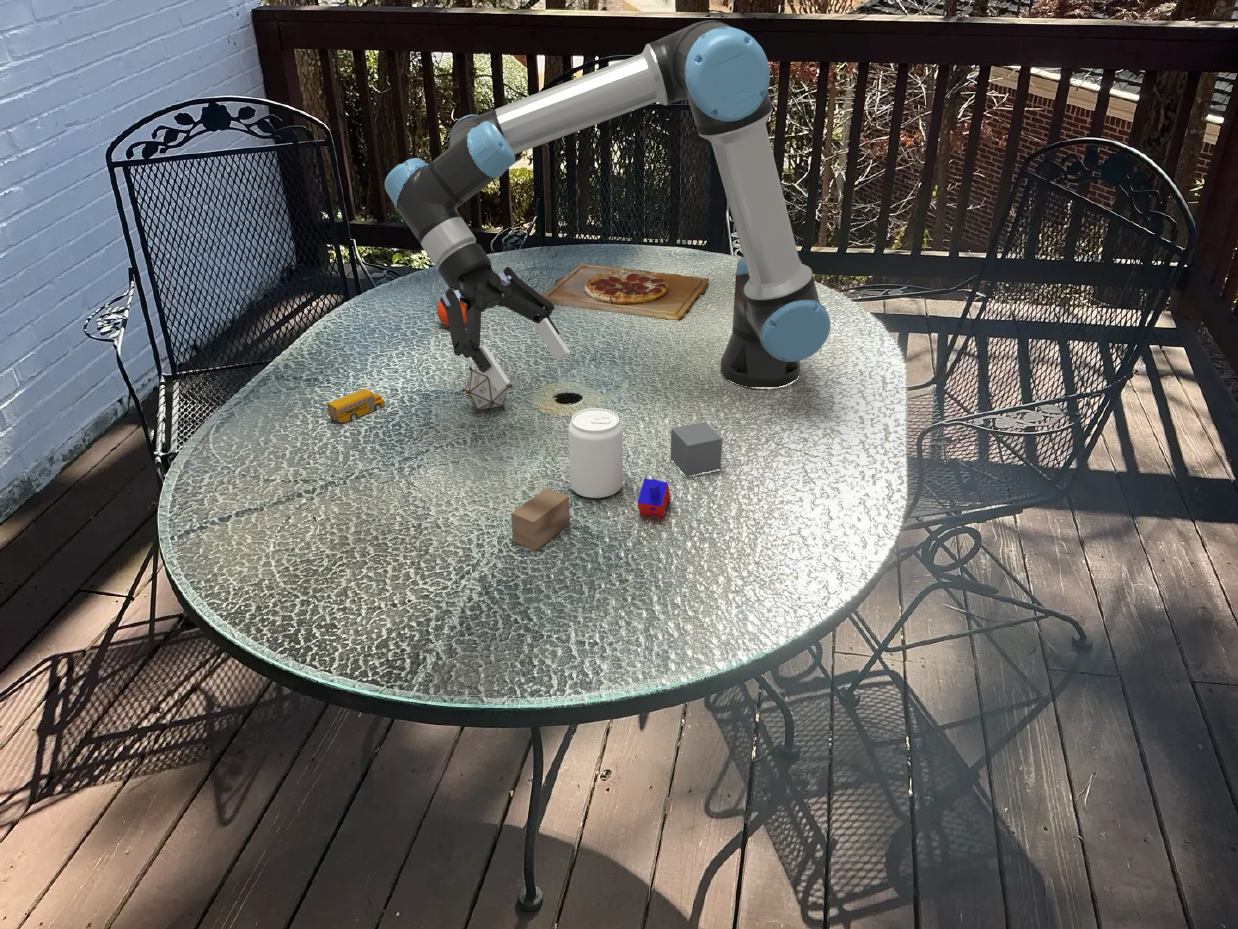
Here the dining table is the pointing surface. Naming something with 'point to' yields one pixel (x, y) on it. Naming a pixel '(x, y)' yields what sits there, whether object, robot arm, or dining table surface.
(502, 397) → the game die
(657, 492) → the toy building block
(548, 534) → the walnut brick
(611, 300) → the pizza
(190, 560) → the dining table surface
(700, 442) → the grey cube
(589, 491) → the beverage can
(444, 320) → the clementine
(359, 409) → the toy bus
